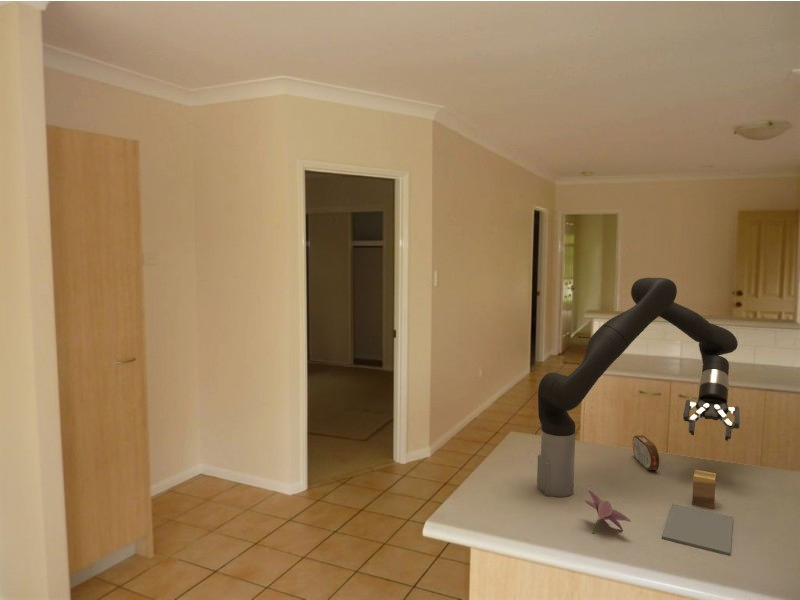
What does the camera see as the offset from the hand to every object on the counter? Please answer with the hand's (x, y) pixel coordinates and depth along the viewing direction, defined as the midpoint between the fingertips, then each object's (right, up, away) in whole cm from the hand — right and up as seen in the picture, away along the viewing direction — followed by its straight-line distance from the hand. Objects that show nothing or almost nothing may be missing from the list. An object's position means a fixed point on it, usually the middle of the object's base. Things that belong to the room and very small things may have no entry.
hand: (709, 436), depth 161 cm
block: (-6, -16, -8) cm, 19 cm away
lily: (-38, -18, -22) cm, 47 cm away
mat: (-15, -17, -22) cm, 31 cm away
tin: (-10, -14, +18) cm, 25 cm away
